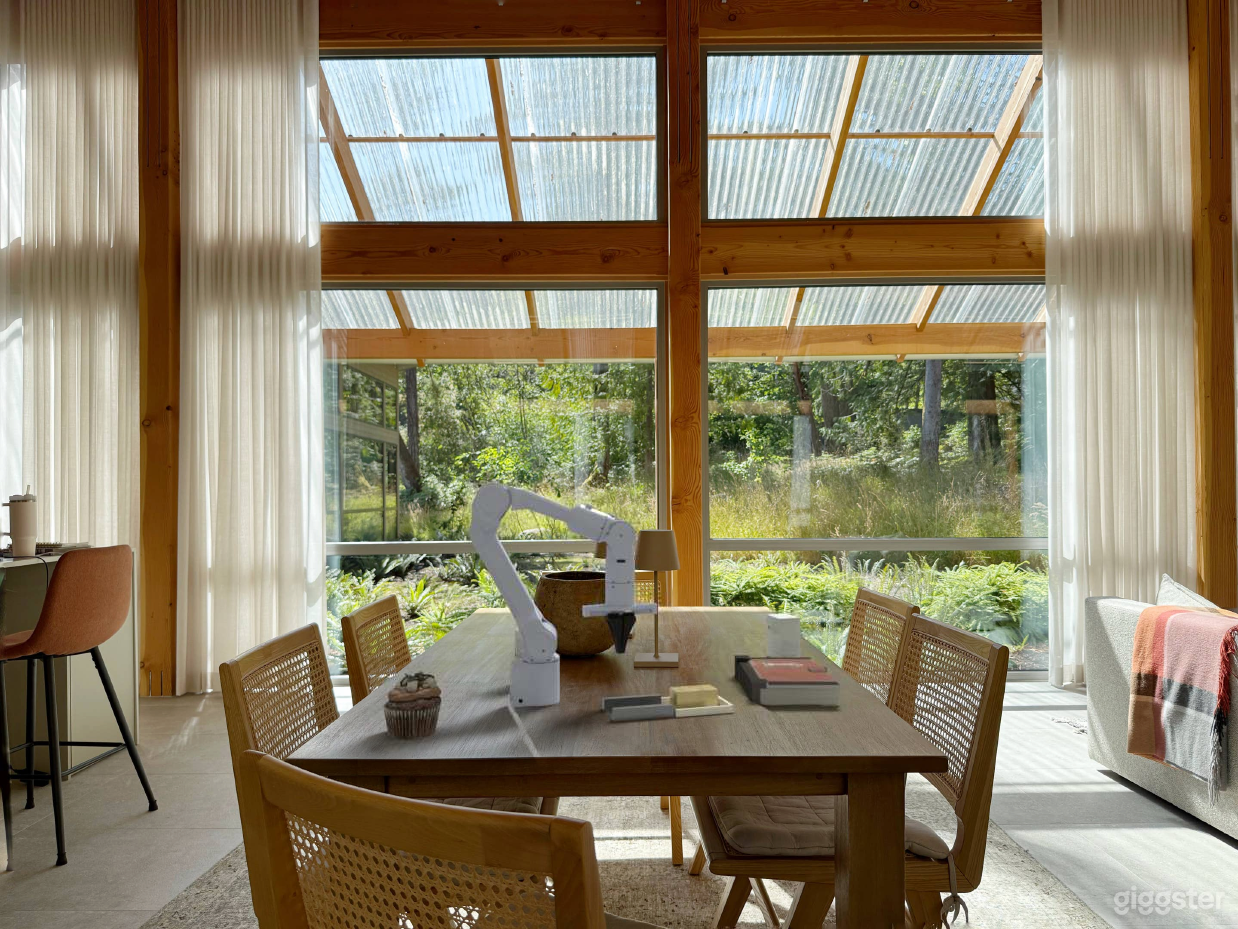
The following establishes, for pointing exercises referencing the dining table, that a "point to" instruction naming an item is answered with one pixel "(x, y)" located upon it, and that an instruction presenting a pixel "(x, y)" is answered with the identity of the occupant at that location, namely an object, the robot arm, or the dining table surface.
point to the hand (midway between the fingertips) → (620, 652)
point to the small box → (783, 635)
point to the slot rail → (637, 707)
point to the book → (786, 681)
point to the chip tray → (702, 708)
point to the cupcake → (413, 707)
